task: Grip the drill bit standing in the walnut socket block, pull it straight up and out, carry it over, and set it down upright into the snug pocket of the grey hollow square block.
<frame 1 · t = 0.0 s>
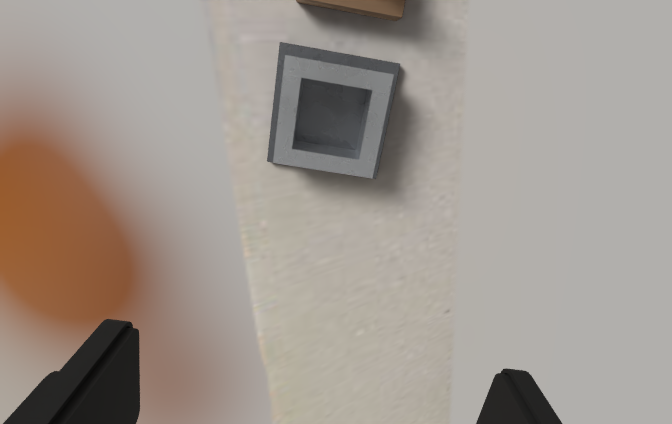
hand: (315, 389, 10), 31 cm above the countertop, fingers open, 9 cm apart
grey hollow square block: (330, 113, 38), on the countertop
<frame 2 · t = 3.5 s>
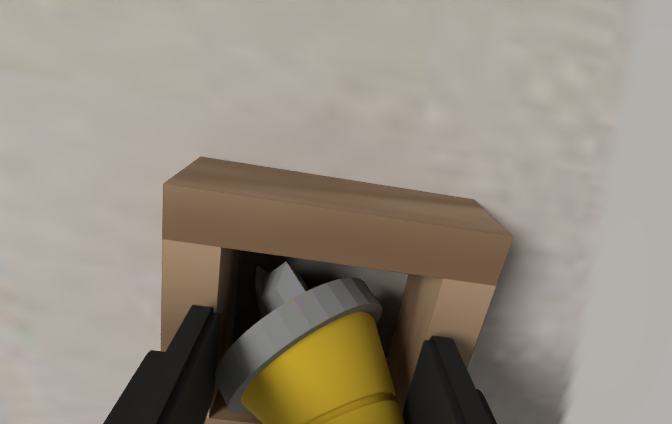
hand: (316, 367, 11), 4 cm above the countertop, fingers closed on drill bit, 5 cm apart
socket block: (319, 296, 14), on the countertop
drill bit: (337, 306, 15), on the countertop, touching gripper, socket block
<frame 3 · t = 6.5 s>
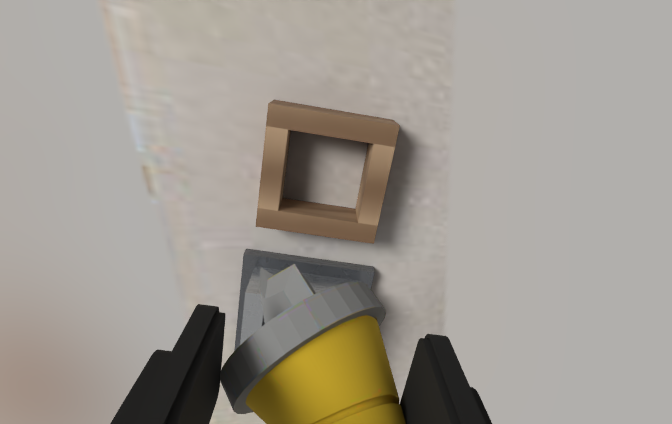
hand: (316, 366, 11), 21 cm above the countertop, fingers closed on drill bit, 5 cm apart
socket block: (324, 167, 31), on the countertop
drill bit: (339, 309, 15), point 18 cm above the countertop, touching gripper
grey hollow square block: (301, 311, 36), on the countertop
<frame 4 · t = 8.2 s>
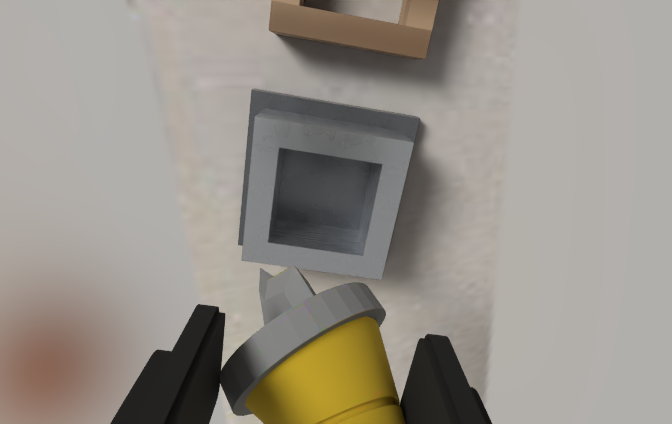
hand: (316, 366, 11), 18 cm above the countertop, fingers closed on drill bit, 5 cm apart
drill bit: (339, 310, 15), point 15 cm above the countertop, touching gripper
grey hollow square block: (324, 181, 28), on the countertop
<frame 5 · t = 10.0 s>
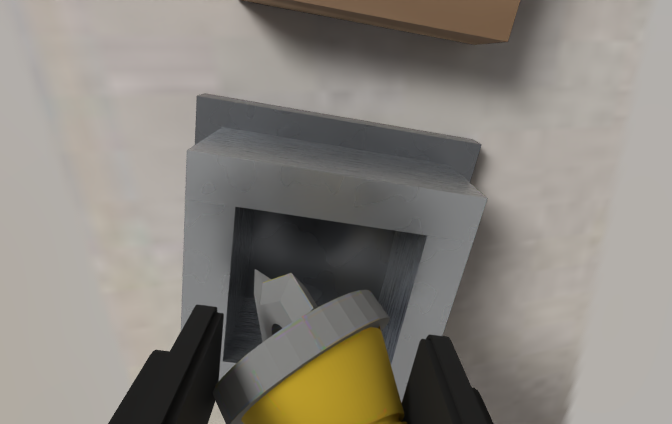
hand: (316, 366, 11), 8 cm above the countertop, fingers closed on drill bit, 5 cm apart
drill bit: (339, 310, 14), point 4 cm above the countertop, touching gripper, grey hollow square block
grey hollow square block: (321, 238, 18), on the countertop
when the fingers open (7 cm above the countertop, at t = 11.0 s): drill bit drops 4 cm, resting on grey hollow square block.
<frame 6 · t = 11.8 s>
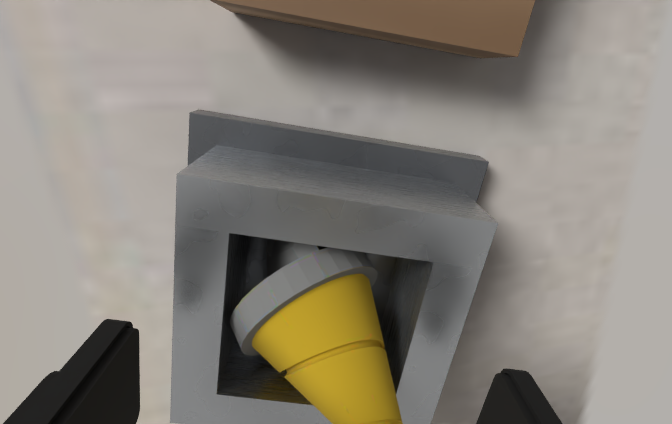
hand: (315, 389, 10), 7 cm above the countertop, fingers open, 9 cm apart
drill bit: (333, 276, 16), point 1 cm above the countertop, touching grey hollow square block
grey hollow square block: (321, 259, 17), on the countertop
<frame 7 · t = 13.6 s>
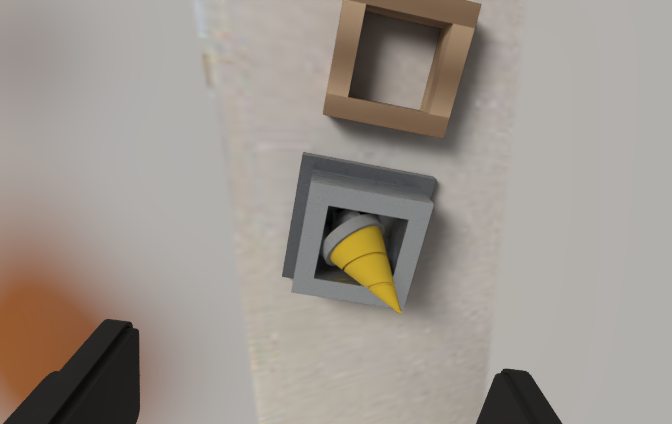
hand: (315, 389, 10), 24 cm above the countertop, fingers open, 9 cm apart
socket block: (392, 62, 30), on the countertop
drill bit: (362, 233, 34), point 1 cm above the countertop, touching grey hollow square block
grey hollow square block: (355, 225, 34), on the countertop
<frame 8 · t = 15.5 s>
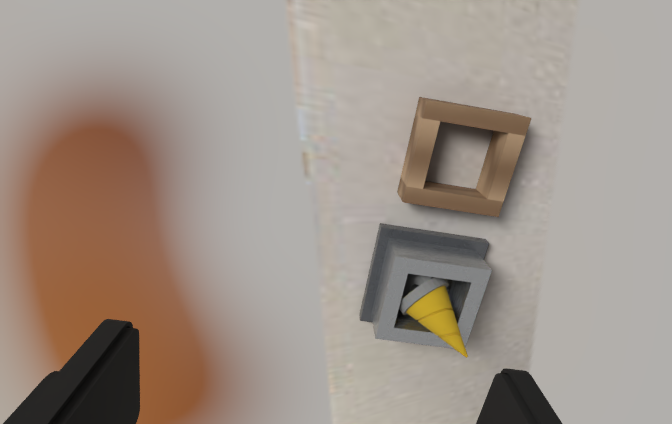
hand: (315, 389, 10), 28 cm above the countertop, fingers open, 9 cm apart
socket block: (454, 154, 37), on the countertop
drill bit: (426, 285, 41), point 1 cm above the countertop, touching grey hollow square block
grey hollow square block: (420, 278, 42), on the countertop
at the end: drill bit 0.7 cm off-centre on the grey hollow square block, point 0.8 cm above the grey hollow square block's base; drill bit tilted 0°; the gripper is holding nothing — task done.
